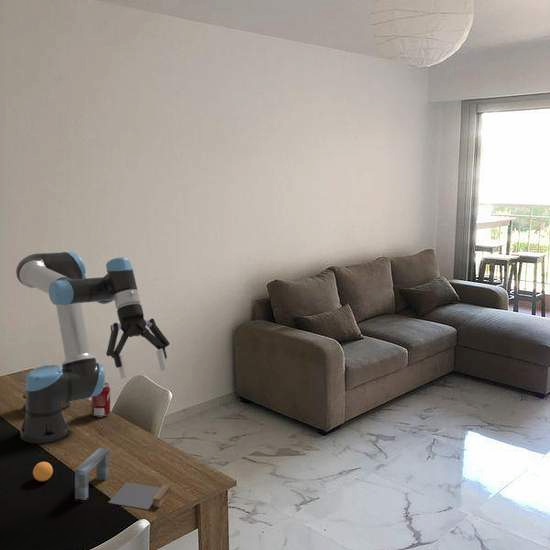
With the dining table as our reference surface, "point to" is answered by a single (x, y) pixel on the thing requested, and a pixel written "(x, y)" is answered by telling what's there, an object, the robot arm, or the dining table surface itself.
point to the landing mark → (135, 496)
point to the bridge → (82, 472)
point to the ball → (42, 471)
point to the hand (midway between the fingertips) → (145, 374)
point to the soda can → (101, 402)
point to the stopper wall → (161, 496)
